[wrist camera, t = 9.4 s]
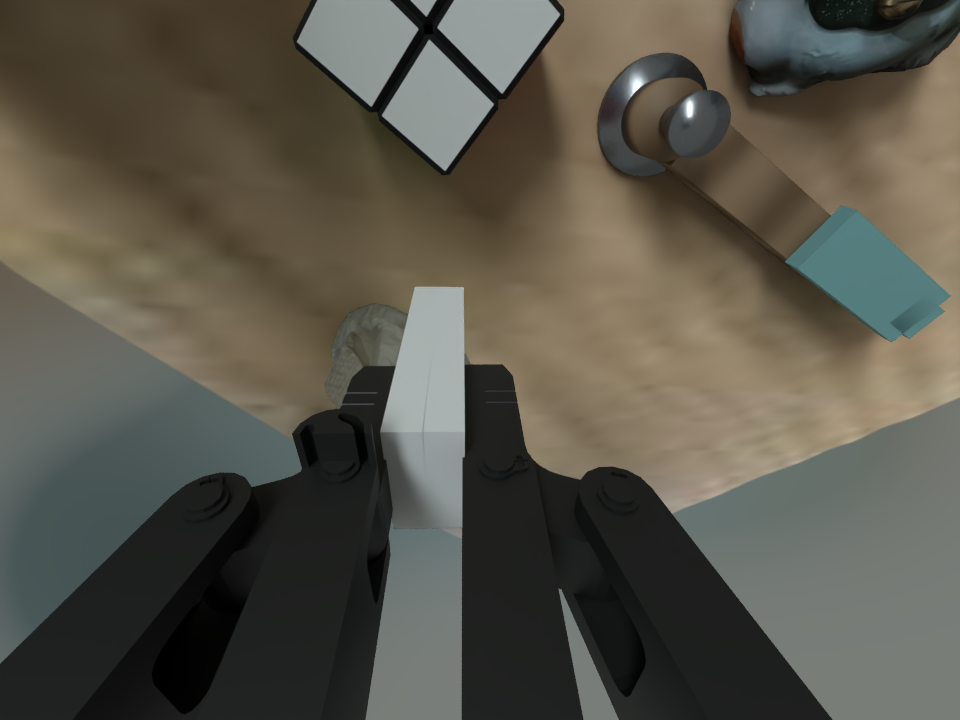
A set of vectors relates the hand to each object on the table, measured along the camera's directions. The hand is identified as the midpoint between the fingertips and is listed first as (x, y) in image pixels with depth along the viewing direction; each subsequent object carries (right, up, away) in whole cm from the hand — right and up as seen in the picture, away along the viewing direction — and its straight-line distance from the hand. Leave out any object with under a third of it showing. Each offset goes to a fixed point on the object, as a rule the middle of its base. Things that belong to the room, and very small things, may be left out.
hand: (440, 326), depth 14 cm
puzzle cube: (-2, +21, +16) cm, 26 cm away
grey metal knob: (+14, +17, +18) cm, 29 cm away
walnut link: (+23, +13, +21) cm, 33 cm away
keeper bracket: (+33, +8, +25) cm, 42 cm away
